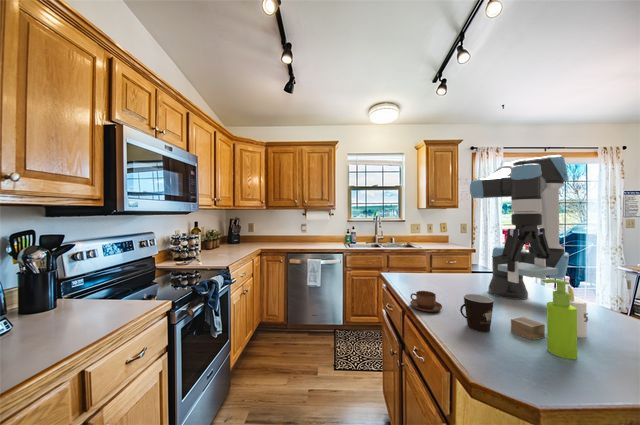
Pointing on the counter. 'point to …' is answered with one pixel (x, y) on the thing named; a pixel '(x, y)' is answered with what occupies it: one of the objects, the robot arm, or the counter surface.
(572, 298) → the white bottle
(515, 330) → the block
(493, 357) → the counter surface
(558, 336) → the soap dispenser
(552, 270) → the lid
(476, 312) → the coffee mug
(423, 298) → the cup and saucer
